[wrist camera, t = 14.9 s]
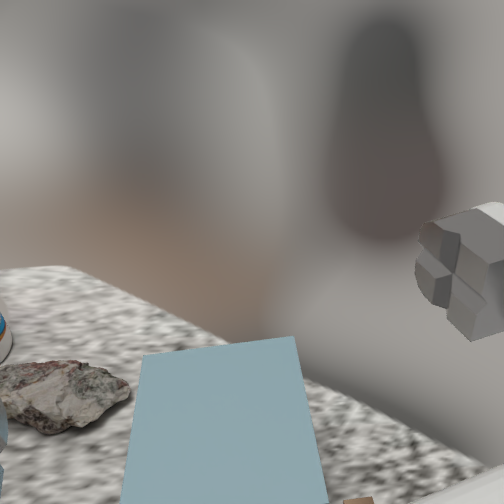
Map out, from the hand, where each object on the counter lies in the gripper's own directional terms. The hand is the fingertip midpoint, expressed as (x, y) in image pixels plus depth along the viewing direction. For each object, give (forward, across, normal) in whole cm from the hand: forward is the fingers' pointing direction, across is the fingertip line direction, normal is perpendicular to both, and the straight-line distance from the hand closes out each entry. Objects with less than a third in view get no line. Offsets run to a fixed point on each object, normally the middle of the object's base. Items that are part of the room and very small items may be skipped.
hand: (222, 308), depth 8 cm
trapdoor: (+11, 0, +23) cm, 26 cm away
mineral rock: (+29, +14, +32) cm, 46 cm away
